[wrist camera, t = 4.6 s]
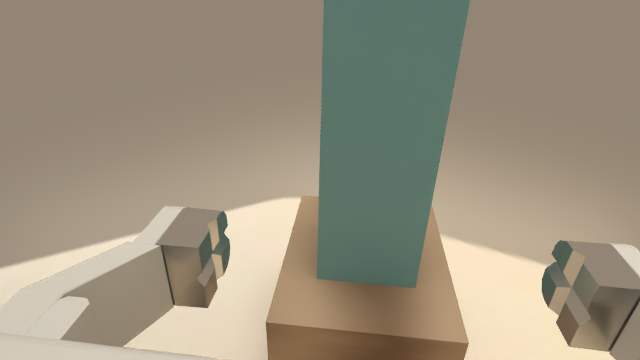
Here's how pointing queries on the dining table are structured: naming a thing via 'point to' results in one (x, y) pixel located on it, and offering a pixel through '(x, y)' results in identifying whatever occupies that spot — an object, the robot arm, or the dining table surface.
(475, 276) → the dining table surface
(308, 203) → the block
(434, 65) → the tall teal pillar
